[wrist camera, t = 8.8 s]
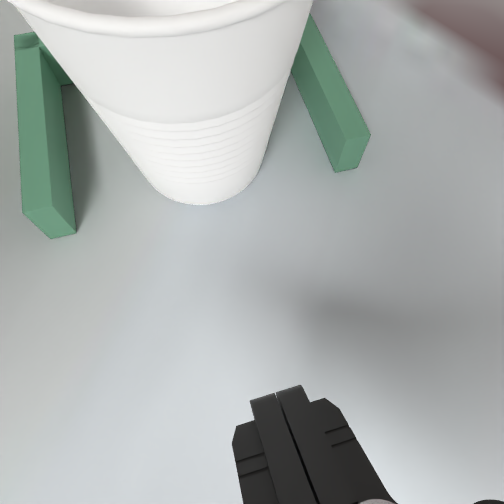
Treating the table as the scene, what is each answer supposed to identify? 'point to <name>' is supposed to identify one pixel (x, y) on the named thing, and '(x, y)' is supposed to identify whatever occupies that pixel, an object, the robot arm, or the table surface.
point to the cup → (179, 81)
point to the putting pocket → (54, 136)
